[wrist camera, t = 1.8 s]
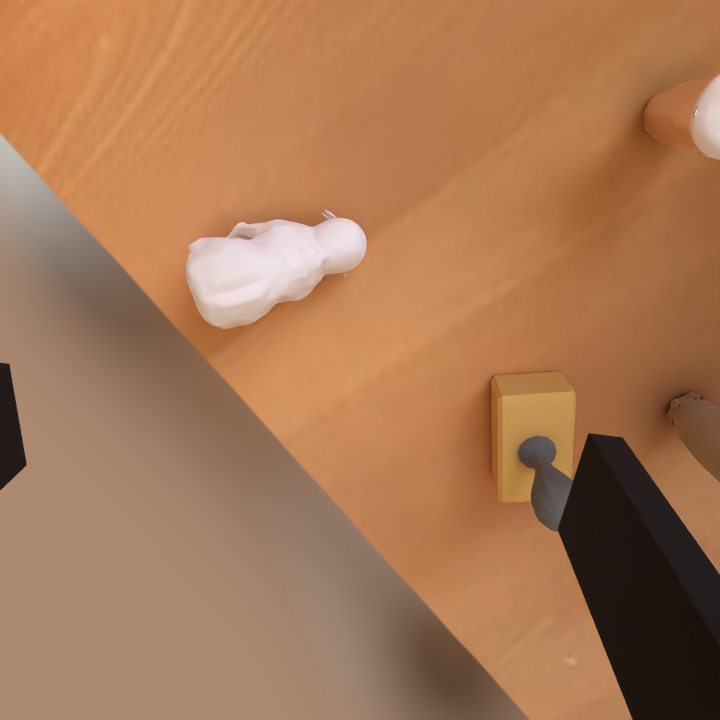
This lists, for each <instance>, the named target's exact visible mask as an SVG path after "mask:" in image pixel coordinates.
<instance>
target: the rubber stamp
mask: <svg viewBox="0 0 720 720" xmlns="http://www.w3.org/2000/svg"><path fill="white" fill-rule="evenodd" d="M575 409H576V393H575V391H574V390H573V388H572V387H571V385H570V384H569V382H568V380H567V379H566V377H565V376H564V375H563V374H562V373H561V372H560V371H552V372H538V373H523V374H509V375H494V377H493V379H492V380H491V430H492V478H493V482H494V486H495V489H496V493H497V497H498V499H499V500H500V501H501V502H502V503H509V502H530V501H531V502H532V505H533V509H534V512H535V515H536V517H537V518H538V520H539V521H540V522H541V523H542V524H544V525H545V526H546V527H548V528H549V529H550V530H553V531H557V532H558V526H559V523H560V520H561V517H562V514H563V511H564V508H565V505H566V502H567V499H568V496H569V492H570V489H571V486H572V483H573V480H571V478H572V461H573V444H574V426H575Z"/></svg>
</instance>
